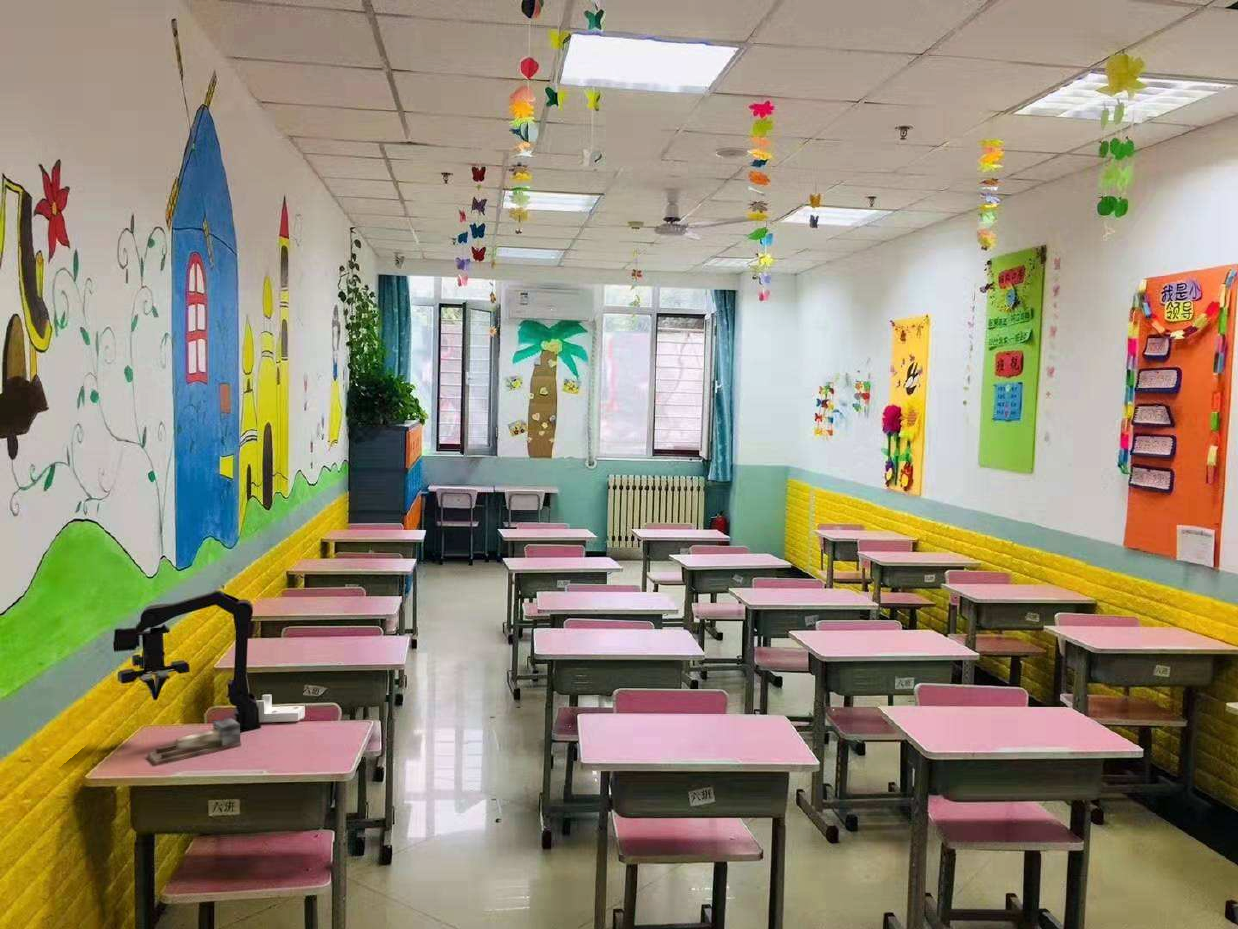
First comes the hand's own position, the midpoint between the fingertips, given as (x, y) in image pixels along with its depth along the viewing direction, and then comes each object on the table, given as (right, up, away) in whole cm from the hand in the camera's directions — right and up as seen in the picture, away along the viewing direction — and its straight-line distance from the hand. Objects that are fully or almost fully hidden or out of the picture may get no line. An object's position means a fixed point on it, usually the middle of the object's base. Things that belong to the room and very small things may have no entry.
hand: (155, 699), depth 280 cm
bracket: (+32, -11, +17) cm, 38 cm away
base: (+17, -12, -10) cm, 23 cm away
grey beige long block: (+18, -11, -9) cm, 23 cm away
